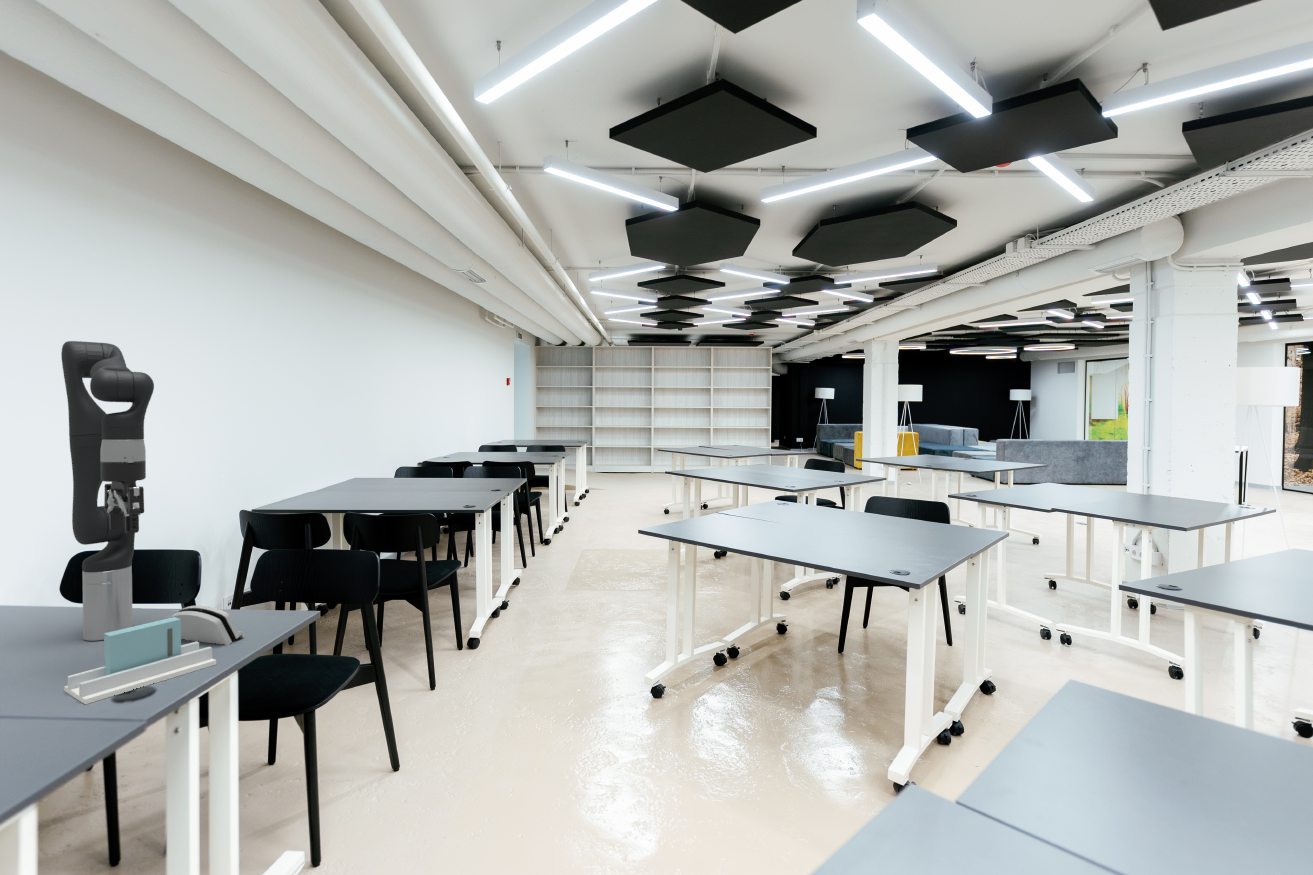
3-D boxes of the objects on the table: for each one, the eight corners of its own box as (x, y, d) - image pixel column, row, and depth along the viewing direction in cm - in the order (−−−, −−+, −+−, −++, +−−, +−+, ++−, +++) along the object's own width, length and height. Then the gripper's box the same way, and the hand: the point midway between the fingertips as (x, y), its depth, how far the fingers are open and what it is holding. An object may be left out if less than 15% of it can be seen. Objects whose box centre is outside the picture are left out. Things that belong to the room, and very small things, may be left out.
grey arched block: (246, 637, 148) (233, 604, 145) (230, 650, 144) (216, 617, 140) (194, 631, 152) (181, 599, 149) (177, 643, 148) (162, 611, 144)
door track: (64, 691, 118) (64, 674, 118) (193, 654, 137) (193, 639, 137) (85, 704, 112) (85, 686, 112) (216, 664, 132) (216, 649, 132)
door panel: (104, 681, 120) (104, 633, 120) (174, 661, 131) (174, 616, 131) (110, 684, 119) (110, 636, 119) (181, 663, 129) (181, 619, 129)
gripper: (89, 459, 131) (89, 530, 132) (114, 461, 124) (115, 536, 125) (131, 457, 138) (132, 525, 138) (158, 459, 131) (158, 531, 131)
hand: (124, 530), depth 131 cm, fingers open, 8 cm apart
